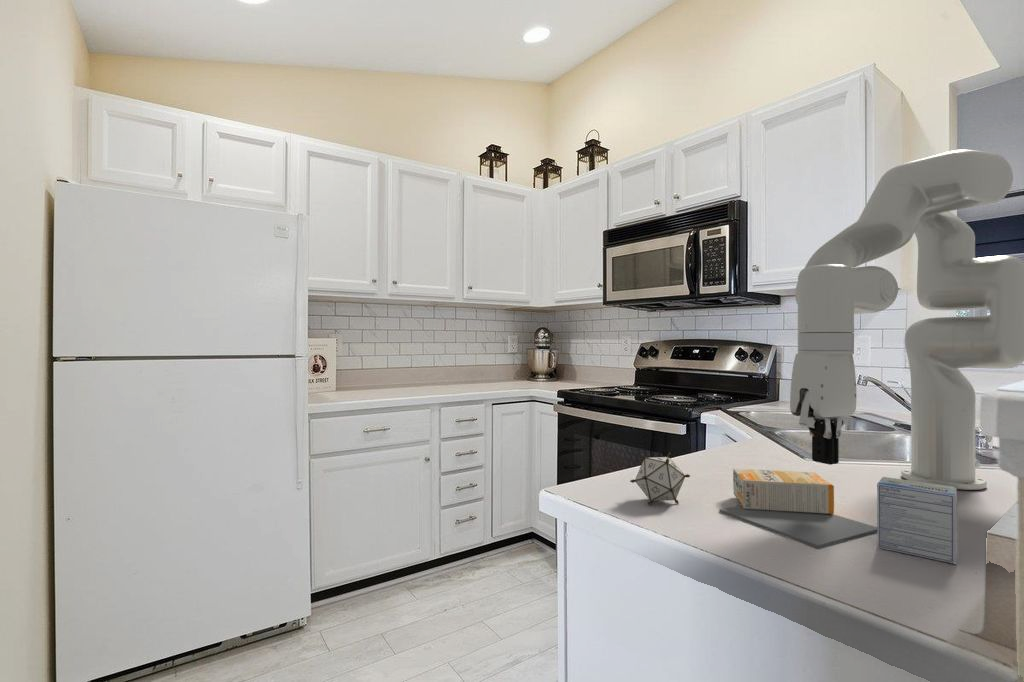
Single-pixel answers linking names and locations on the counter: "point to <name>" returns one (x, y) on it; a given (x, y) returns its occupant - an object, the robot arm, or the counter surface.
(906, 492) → the medicine box
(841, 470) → the counter surface
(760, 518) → the mat
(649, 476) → the game die
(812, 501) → the supplement box
